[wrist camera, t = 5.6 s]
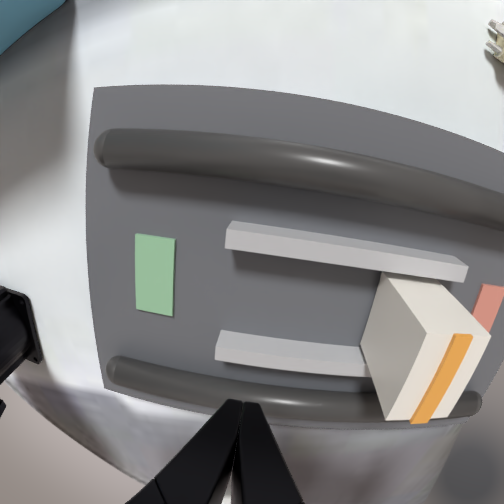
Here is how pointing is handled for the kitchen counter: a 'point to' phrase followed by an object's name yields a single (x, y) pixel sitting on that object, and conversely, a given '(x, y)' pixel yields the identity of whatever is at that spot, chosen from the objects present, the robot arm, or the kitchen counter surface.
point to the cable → (503, 41)
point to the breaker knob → (420, 347)
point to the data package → (22, 17)
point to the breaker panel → (277, 246)
